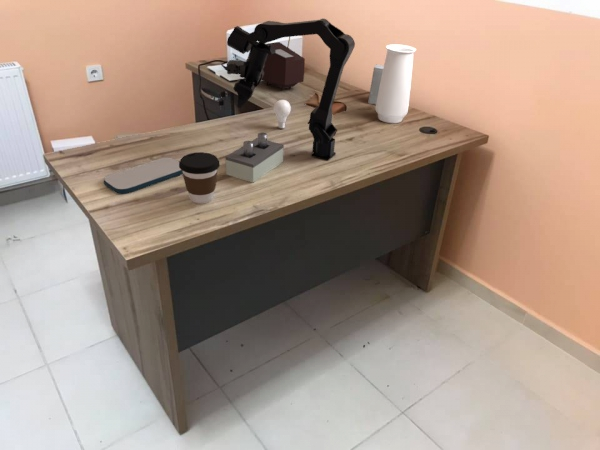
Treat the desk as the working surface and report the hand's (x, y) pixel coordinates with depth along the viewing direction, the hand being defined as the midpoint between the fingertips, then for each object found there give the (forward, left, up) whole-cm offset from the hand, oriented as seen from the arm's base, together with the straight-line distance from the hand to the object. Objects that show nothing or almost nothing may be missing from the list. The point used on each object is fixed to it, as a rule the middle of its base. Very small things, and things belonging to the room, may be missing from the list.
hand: (242, 102), depth 170 cm
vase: (-37, -52, -14) cm, 65 cm away
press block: (-16, +17, -14) cm, 27 cm away
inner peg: (-16, +13, -9) cm, 23 cm away
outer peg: (-16, +21, -9) cm, 28 cm away
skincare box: (-26, -68, -14) cm, 74 cm away
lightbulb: (-6, -17, -14) cm, 23 cm away
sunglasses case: (-9, -49, -14) cm, 51 cm away
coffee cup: (-14, +42, -14) cm, 46 cm away
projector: (+21, -62, -14) cm, 67 cm away
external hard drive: (+8, +41, -14) cm, 44 cm away
